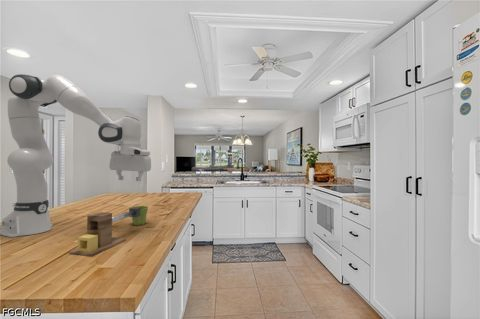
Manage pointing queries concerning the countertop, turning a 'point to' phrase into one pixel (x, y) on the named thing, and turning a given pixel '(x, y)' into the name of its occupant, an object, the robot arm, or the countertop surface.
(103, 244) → the stand
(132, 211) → the shaft
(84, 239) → the block
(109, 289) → the countertop surface
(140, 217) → the plant pot
